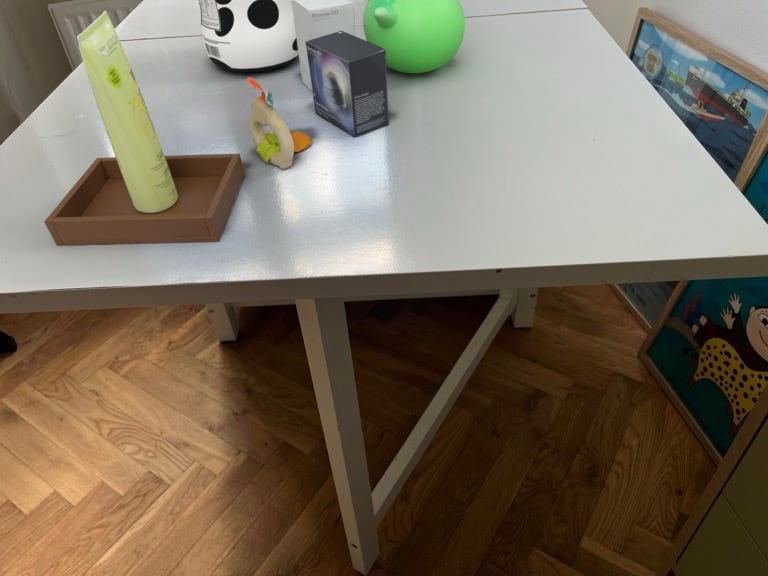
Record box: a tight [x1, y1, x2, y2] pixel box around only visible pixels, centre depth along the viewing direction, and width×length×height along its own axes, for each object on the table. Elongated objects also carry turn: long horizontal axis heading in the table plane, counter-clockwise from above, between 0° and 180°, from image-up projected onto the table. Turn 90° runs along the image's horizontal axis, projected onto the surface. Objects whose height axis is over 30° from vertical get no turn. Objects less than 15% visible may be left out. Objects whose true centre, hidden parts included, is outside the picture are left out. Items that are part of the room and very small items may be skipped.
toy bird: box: [362, 0, 466, 74], centre depth 88 cm, size 18×17×15 cm
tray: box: [43, 153, 246, 247], centre depth 63 cm, size 18×14×3 cm
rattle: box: [246, 76, 312, 170], centre depth 68 cm, size 8×8×12 cm
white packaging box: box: [291, 0, 357, 93], centre depth 85 cm, size 7×7×13 cm
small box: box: [305, 31, 390, 138], centre depth 76 cm, size 11×6×10 cm, turn 37°
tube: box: [76, 10, 178, 213], centre depth 57 cm, size 6×5×20 cm
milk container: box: [198, 0, 299, 73], centre depth 93 cm, size 17×17×18 cm
